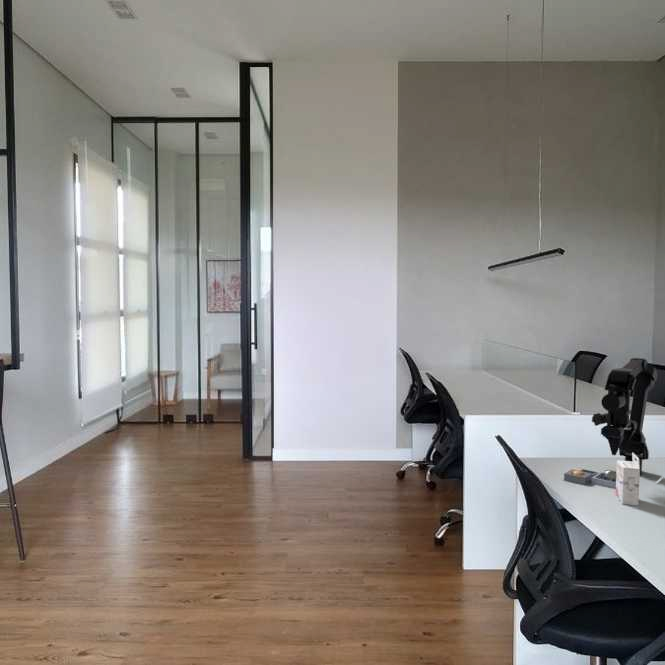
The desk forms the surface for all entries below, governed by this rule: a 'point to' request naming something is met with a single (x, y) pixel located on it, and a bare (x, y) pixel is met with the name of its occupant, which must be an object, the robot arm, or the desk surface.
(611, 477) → the cylinder
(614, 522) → the desk surface
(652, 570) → the desk surface
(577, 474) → the tester button
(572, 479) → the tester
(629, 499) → the ink cartridge box
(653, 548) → the desk surface
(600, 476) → the cup
